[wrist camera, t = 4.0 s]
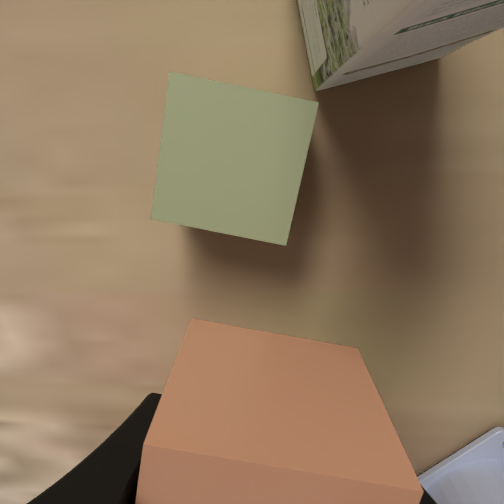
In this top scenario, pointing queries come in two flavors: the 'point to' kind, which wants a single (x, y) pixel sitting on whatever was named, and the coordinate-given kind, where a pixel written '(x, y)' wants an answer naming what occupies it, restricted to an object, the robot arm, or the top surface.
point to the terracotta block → (271, 426)
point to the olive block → (231, 158)
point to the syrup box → (388, 34)
